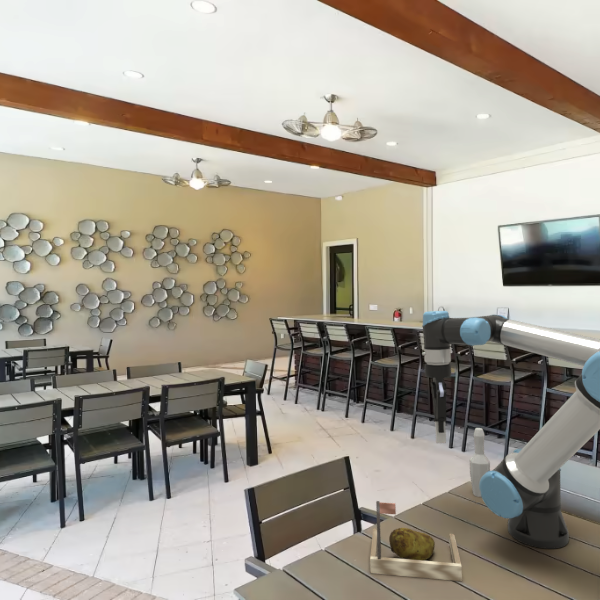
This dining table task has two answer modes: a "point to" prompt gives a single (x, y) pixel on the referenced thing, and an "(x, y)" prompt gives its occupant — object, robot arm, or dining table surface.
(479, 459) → the low poly bottle
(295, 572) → the dining table surface
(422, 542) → the potato
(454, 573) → the wooden tray with flag
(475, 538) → the dining table surface
